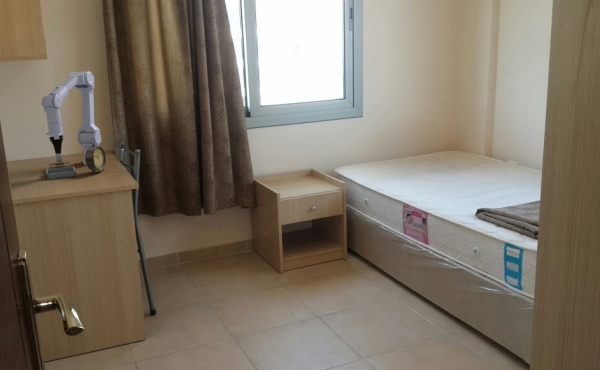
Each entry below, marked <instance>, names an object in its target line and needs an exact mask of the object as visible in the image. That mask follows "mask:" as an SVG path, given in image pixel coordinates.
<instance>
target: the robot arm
mask: <svg viewBox="0 0 600 370" xmlns="http://www.w3.org/2000/svg"><path fill="white" fill-rule="evenodd" d="M73 88H76V89H77V90H79V91H80V92H81V110H82V113H81V114H82V125H81V126H79V128H78V134H77V141H78V144H79V145H80V146H81V147H82V151H83V152H82V153H83V161H82V162H83V165H84V166H87V165H86V161H85V154H86V151H87V149H88V148H89V147H92V144H91V138H92V137H93V138H94V139H95V143H94V139H93V138H92V143H94V146H99V145H100V144H101V142H102V135H101V129H100V128H99V127H98V126H97V125H95V103H94V101H95V100H94V99H95V98H94V89H95V76H94V75H93V73H92V72H91V71H70V73H68V74H67V79H66V80H65V81H64V82H63V83H62V85H56V86H55V88H54V89H53V90H52V91H50V93H49V94H47V95H46V94H45V95H44V96H43V97H42V99H41V106H42V108H43V111H44V112H45V114H46V115H45V116H46V122H47V129H48V132H46V133H45V135H46V136H50V137H49V141H50V142H51V144H52V146H53V149H54V153H56V154H61V155H62V145H63V144H62V143H63V141H64V136H63V134H64V132H63V126H62V124H63V123H62V118H61V117H62V116H61V109H60V108H61V107H62V104H63V102H64V100H65V99H66V98H67V97H68V96H69V91H70V90H72V89H73ZM56 154H55V155H56Z"/></svg>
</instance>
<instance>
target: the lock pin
mask: <svg viewBox="0 0 600 370" xmlns="http://www.w3.org/2000/svg"><path fill="white" fill-rule="evenodd" d="M54 153H55V152H54ZM55 161H56V162H55V163H58V162H63V158H62V153H61V154H56V153H55Z"/></svg>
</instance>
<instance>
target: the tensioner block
mask: <svg viewBox="0 0 600 370" xmlns="http://www.w3.org/2000/svg"><path fill="white" fill-rule="evenodd" d="M63 167H71V163H70V161H69V160H67V161H62V162H49V163H48V169H54V168H63Z"/></svg>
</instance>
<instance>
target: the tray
mask: <svg viewBox="0 0 600 370" xmlns="http://www.w3.org/2000/svg"><path fill="white" fill-rule="evenodd" d="M45 171H46V179H47V181H48V180H57V179H66V178H67V179H68V178H74V177H75V178H76V177H77V172H76V168H75V166H74V165H73V166H70V167H63V168H54V169H50V168H46V169H45Z"/></svg>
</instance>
